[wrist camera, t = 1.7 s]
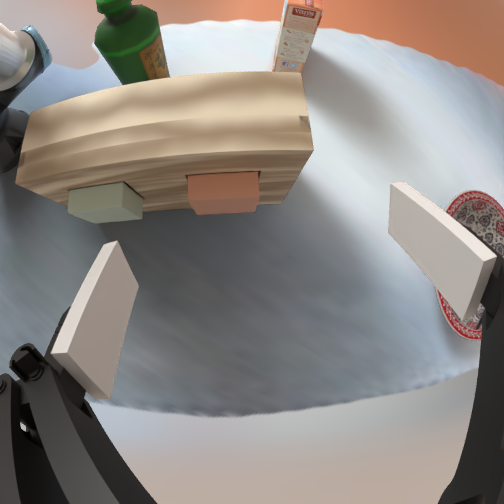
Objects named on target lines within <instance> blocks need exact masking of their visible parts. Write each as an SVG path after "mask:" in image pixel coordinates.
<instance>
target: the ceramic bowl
mask: <svg viewBox="0 0 504 504" xmlns="http://www.w3.org/2000/svg"><path fill="white" fill-rule="evenodd" d="M444 211H445V212H446V213H447V214H448V215H450V216H451V217H452V218H453V219H455V220H456V221H457V222H458V223H461V224H463V225H465V226H467V227H469V228H471V229H472V230H473V231H474V232H475V233H477V235H479V236H480V237H481V238H482V239H483V241H486V242H487V243H488V244H489V245H490V246H491V247H493V248H494V249H495V250H496V251H497V252H498V253H499V254H500V255H501V256H502V257H503V258H504V209H503V208H502V206H501V205H500V204H499V203H498V202H497V201H496V200H495V199H494V198H493V197H491V196H490V195H488V194H486V193H484V192H482V191H477V190H469V191H465V192H462V193H460V194H458V195H457V196H456V197H455V198H454V199H453V200H452V201H451V202H450V203H449V204H448V206H447V207H446V209H445V210H444ZM435 291H436V296H437V300H438V303H439V306H440V309H441V311H442V314H443V316H444V318H445V320H446V321H447V323H448V324H449V326H450V327H451V328H452V329H453V330H454V331H455V332H456V333H457V334H458V335H459V336H461V337H463V338H465V339H468V340H481V332H482V331H481V330H482V324H481V325H480V327H479V329H478V330H476V327H477V324H478V322H479V320H480V318H481V315H482V313H483V311H484V309H485V308H484V307H483V305H482V304H481V303H480V305H479V307H478V309H477V312H476V314H475V315H474V316H472V317H469V318H467V319H465V320H463V321H462V320H461V319H460V318H459V316H458V315H457V314H456V312H455V311H454V310H453V308H452V307H451V306H450V304H449V303H448V302H447V301H446V299H445V298H444V297H443V296H442V294H441V293H440V292H439V291H438V289H437V288H436V287H435Z"/></svg>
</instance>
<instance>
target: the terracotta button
mask: <svg viewBox="0 0 504 504" xmlns="http://www.w3.org/2000/svg"><path fill="white" fill-rule="evenodd" d="M259 198H260V193H259V178H258V172H236V173H217V174H202V175H189V176H188V202H189V203H190V205H191V206H192V208H193V209H194V211H195V212H196V214H197V215H208V214H226V213H246V212H255V211H256V208H257V205H258V201H259Z"/></svg>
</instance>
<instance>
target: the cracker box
mask: <svg viewBox="0 0 504 504" xmlns="http://www.w3.org/2000/svg"><path fill="white" fill-rule="evenodd" d="M323 11H324V9H323V0H285V4H284V8H283V13H282V18H281V23H280V28H279V33H278V37H277V43H276V49H275V55H274V62H273V70H272V72H294V73H301V74H302V71H303V68H304V65H305V62H306V60H307V57H308V54H309V51H310V48H311V45H312V42H313V39H314V36H315V34H316V31H317V28H318V25H319V23H320V20H321V17H322V14H323Z"/></svg>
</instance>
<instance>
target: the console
mask: <svg viewBox="0 0 504 504" xmlns="http://www.w3.org/2000/svg"><path fill="white" fill-rule="evenodd" d="M313 151H314V149H313V142H312V135H311V128H310V122H309V116H308V109H307V104H306V98H305V92H304V87H303V81H302V76H301V73H294V72H224V73H208V74H196V75H186V76H177V77H169V78H162V79H156V80H149V81H143V82H138V83H132V84H127V85H122V86H118V87H113V88H109V89H104V90H100V91H96V92H92V93H89V94H85V95H81V96H78V97H74V98H71V99H68V100H64V101H61V102H58V103H55V104H52V105H49V106H46V107H43V108H41V109H38V110H35V111H33V112H31V113H30V117H29V120H28V124H27V128H26V132H25V136H24V140H23V144H22V149H21V154H20V159H19V164H18V170H17V176H16V182H15V184H17V185H19V186H21V187H24V188H26V189H28V190H30V191H32V192H35V193H37V194H39V195H41V196H44V197H46V198H48V199H51V200H53V201H55V202H57V203H60V204H62V205H64V206H67V207H68V197H69V190H74V189H80V188H86V187H93V186H99V185H106V184H114V183H121V182H123V183H125V184H126V185H127V186H128V187H129V188H130V189H132V190H133V191H134V192H135V193H136V194H138V195H139V196H140V197H141V198H142V199H143V212H147V211H159V210H171V209H185V208H192V206H191V205H190V203H189V202H188V176H189V175H202V174H217V173H236V172H258V178H259V193H260V198H259V201H258V204H281V203H282V201H283V200H284V198H285V196H286V195H287V193H288V192H289V190H290V188H291V187H292V185H293V183H294V182H295V180H296V178H297V177H298V175H299V174H300V172H301V170H302V169H303V167H304V165H305V164H306V162H307V160H308V159H309V157H310V156H311V154H312V152H313Z"/></svg>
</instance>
